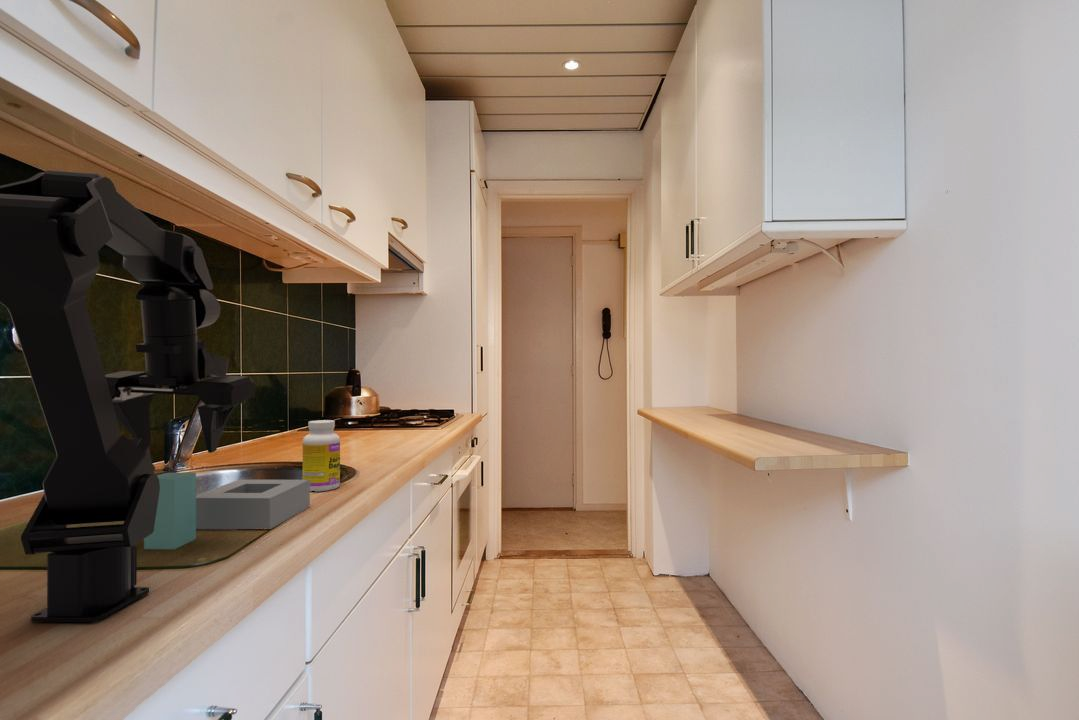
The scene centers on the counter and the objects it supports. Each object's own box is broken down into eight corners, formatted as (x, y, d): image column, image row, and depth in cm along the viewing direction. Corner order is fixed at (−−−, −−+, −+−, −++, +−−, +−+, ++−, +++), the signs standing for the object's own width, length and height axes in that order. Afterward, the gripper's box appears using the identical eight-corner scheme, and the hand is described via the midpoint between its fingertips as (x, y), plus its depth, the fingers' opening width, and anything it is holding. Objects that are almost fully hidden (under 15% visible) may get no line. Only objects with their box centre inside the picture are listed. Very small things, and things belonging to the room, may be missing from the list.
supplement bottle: (331, 492, 96) (331, 423, 96) (295, 492, 96) (295, 423, 97) (345, 484, 103) (345, 419, 103) (312, 484, 103) (312, 419, 103)
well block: (269, 529, 75) (269, 498, 75) (188, 529, 75) (188, 497, 75) (309, 506, 87) (309, 479, 87) (239, 506, 87) (239, 479, 87)
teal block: (174, 549, 67) (174, 479, 67) (143, 549, 67) (144, 479, 67) (195, 538, 71) (195, 472, 71) (167, 538, 71) (167, 472, 71)
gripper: (274, 331, 75) (279, 436, 78) (149, 326, 76) (157, 430, 78) (225, 340, 64) (232, 461, 67) (79, 334, 65) (91, 454, 67)
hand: (179, 450), depth 70 cm, fingers open, 9 cm apart
